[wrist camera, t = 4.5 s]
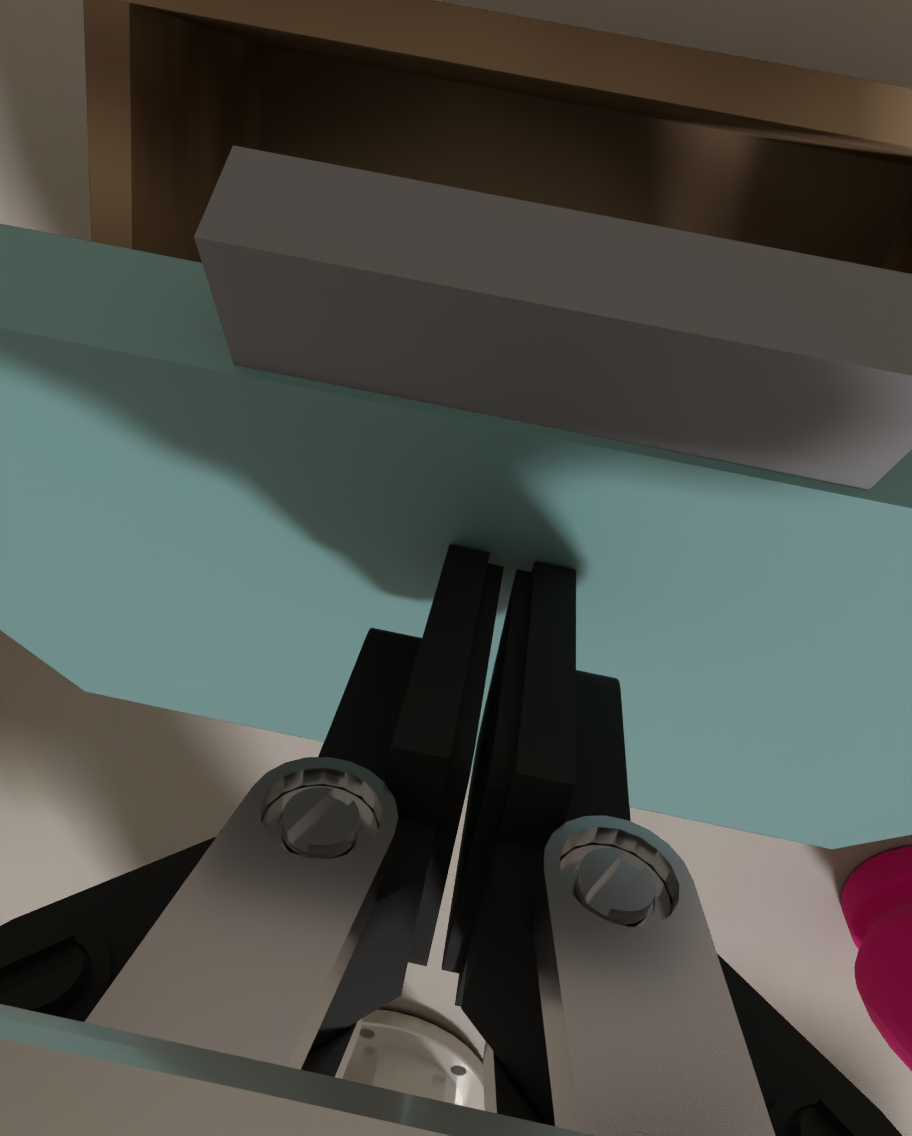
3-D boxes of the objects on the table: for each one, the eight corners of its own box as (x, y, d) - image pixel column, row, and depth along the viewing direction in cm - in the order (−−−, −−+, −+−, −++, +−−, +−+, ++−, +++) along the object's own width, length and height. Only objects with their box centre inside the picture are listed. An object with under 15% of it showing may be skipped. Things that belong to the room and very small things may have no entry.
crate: (758, 636, 34) (824, 808, 25) (222, 527, 34) (105, 657, 26) (955, 136, 25) (1156, 133, 17) (244, 5, 26) (81, -64, 17)
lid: (823, 809, 25) (822, 851, 25) (106, 658, 26) (91, 696, 25) (2013, 473, 6) (2098, 617, 6) (-680, -37, 7) (-792, 56, 7)
